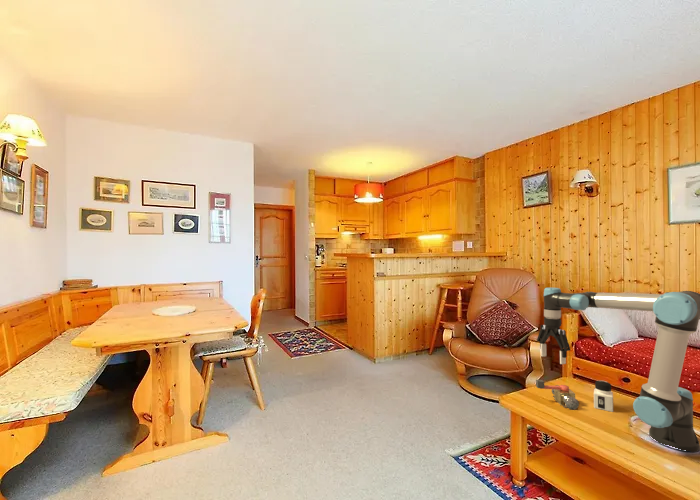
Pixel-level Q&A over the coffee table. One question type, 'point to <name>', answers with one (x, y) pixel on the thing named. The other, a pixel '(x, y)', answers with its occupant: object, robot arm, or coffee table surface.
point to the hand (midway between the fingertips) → (552, 359)
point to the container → (603, 396)
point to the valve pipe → (566, 398)
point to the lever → (541, 385)
